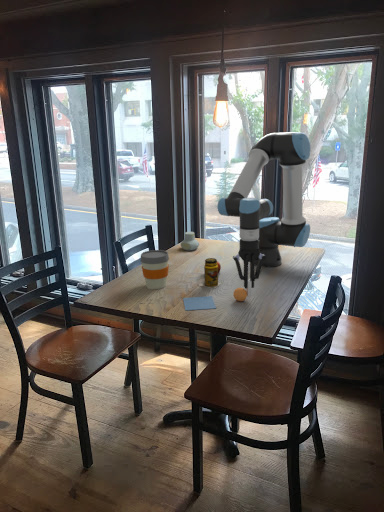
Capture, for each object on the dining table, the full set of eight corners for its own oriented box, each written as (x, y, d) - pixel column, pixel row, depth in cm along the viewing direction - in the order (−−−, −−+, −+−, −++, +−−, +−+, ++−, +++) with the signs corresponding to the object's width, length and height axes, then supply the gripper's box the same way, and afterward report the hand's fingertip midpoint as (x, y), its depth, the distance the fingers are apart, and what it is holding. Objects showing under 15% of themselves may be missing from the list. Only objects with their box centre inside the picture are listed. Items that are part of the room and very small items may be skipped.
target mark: (211, 296, 167) (211, 296, 167) (216, 308, 156) (216, 308, 155) (183, 298, 166) (183, 298, 166) (185, 310, 155) (185, 310, 155)
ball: (246, 286, 163) (233, 284, 162) (249, 291, 158) (236, 290, 157) (243, 298, 165) (230, 297, 164) (247, 304, 160) (233, 302, 159)
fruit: (223, 274, 188) (214, 260, 186) (209, 282, 190) (200, 268, 189) (225, 269, 195) (217, 255, 194) (212, 276, 198) (203, 263, 197)
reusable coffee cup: (137, 285, 182) (134, 253, 178) (159, 278, 190) (157, 248, 185) (152, 293, 173) (150, 259, 169) (175, 285, 181) (174, 253, 176)
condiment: (214, 288, 175) (214, 262, 172) (197, 285, 179) (197, 260, 176) (221, 283, 181) (221, 258, 178) (205, 280, 185) (204, 255, 182)
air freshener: (178, 249, 236) (177, 233, 233) (186, 246, 243) (186, 230, 240) (193, 252, 230) (193, 235, 227) (201, 248, 236) (201, 232, 234)
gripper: (234, 242, 150) (234, 300, 157) (268, 240, 152) (267, 297, 158) (230, 237, 158) (231, 293, 164) (263, 235, 159) (262, 290, 166)
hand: (248, 295), depth 161 cm, fingers closed
